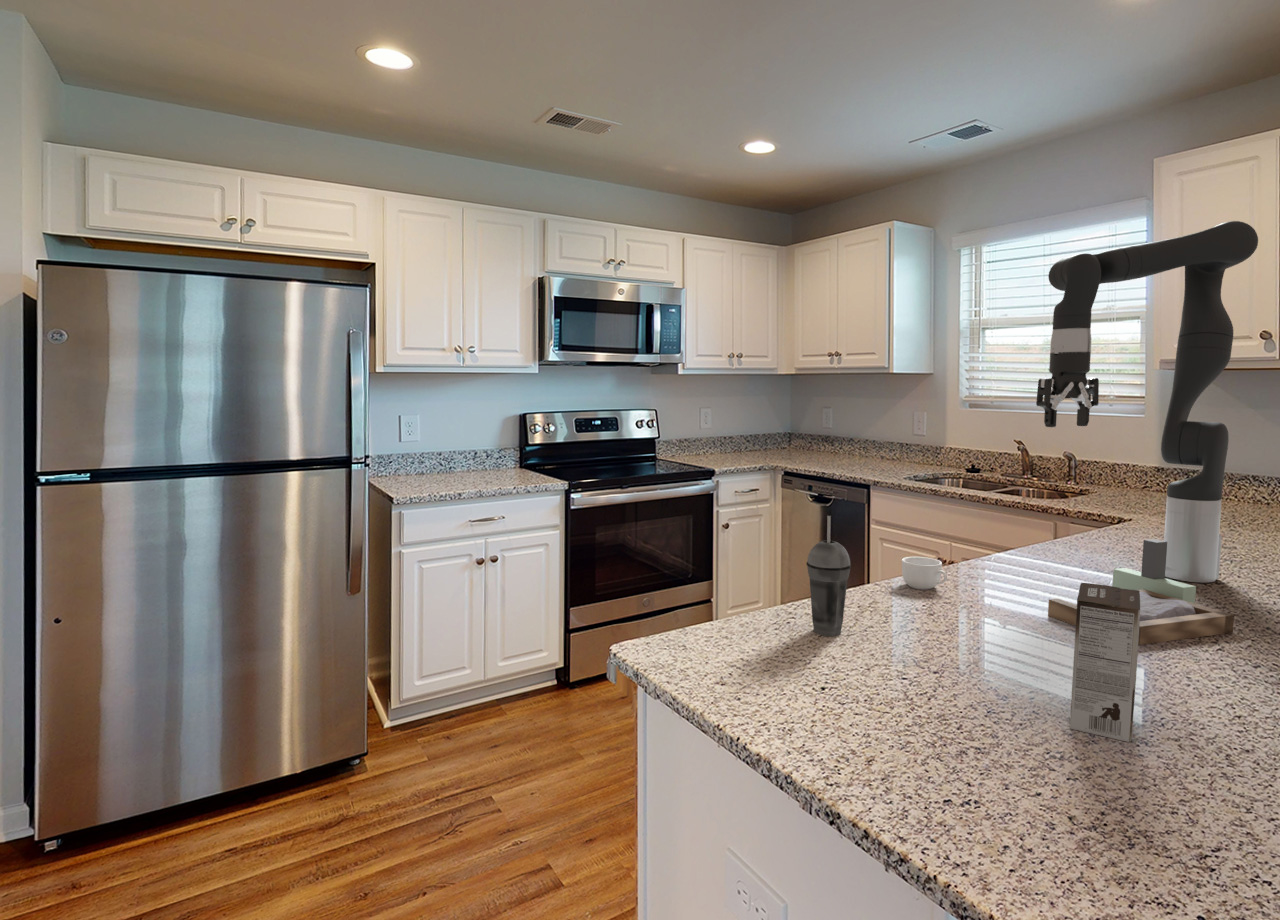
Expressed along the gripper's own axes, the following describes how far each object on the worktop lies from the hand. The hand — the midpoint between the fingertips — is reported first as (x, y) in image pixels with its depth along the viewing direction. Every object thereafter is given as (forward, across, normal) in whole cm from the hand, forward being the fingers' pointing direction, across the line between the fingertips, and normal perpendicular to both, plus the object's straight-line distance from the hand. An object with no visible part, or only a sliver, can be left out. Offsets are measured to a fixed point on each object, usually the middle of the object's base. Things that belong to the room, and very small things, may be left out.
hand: (1066, 426), depth 157 cm
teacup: (+32, +36, +2) cm, 48 cm away
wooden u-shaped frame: (+32, +16, +31) cm, 47 cm away
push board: (+32, +2, +23) cm, 40 cm away
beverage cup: (+32, +69, +20) cm, 79 cm away
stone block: (+33, +12, +30) cm, 46 cm away
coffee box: (+32, +54, +59) cm, 86 cm away
